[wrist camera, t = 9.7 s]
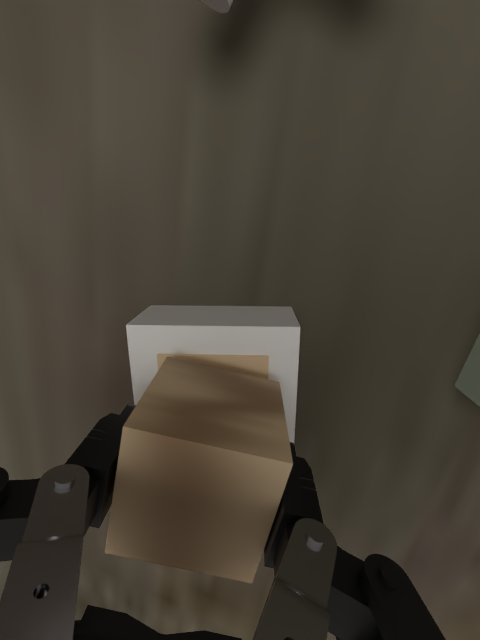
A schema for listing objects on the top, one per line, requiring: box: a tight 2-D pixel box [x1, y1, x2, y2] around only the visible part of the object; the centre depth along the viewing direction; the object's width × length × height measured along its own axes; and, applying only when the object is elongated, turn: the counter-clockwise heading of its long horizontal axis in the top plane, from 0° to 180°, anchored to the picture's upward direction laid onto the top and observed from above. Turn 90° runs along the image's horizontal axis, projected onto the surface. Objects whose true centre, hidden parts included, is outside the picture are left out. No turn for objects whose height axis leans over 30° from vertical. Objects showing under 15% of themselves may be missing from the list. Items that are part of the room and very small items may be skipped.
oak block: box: [105, 356, 293, 583], centre depth 12 cm, size 5×5×5 cm
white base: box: [126, 305, 300, 443], centre depth 18 cm, size 8×8×4 cm
